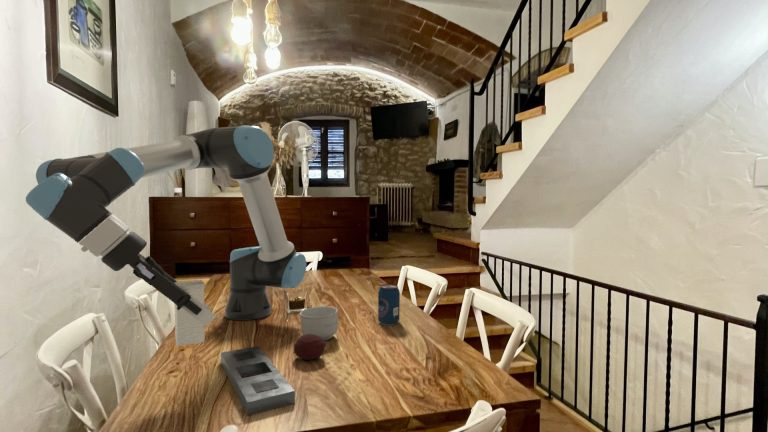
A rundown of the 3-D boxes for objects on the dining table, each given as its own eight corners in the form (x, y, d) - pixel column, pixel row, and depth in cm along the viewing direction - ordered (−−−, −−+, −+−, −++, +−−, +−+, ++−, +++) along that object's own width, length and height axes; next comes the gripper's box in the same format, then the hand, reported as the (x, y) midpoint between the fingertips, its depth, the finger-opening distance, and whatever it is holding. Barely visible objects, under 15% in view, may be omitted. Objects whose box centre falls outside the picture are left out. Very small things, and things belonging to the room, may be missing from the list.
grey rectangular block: (174, 338, 86) (173, 282, 85) (201, 334, 89) (201, 279, 88) (176, 346, 81) (175, 286, 81) (205, 342, 84) (205, 284, 84)
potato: (302, 367, 97) (302, 342, 97) (288, 356, 104) (288, 333, 103) (329, 360, 101) (329, 336, 101) (314, 350, 108) (314, 327, 108)
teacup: (330, 346, 111) (330, 317, 111) (293, 342, 113) (293, 314, 113) (345, 330, 125) (345, 304, 124) (312, 327, 127) (312, 302, 127)
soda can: (373, 322, 133) (373, 285, 132) (389, 318, 137) (389, 282, 137) (387, 327, 127) (388, 289, 127) (403, 323, 132) (404, 286, 132)
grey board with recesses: (220, 362, 99) (220, 352, 99) (258, 355, 104) (258, 345, 104) (247, 415, 75) (247, 401, 75) (294, 403, 80) (294, 390, 80)
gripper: (102, 253, 84) (190, 320, 93) (94, 265, 69) (201, 345, 78) (132, 226, 87) (215, 295, 96) (131, 233, 71) (230, 313, 80)
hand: (208, 317), depth 87 cm, fingers closed on grey rectangular block, 5 cm apart
